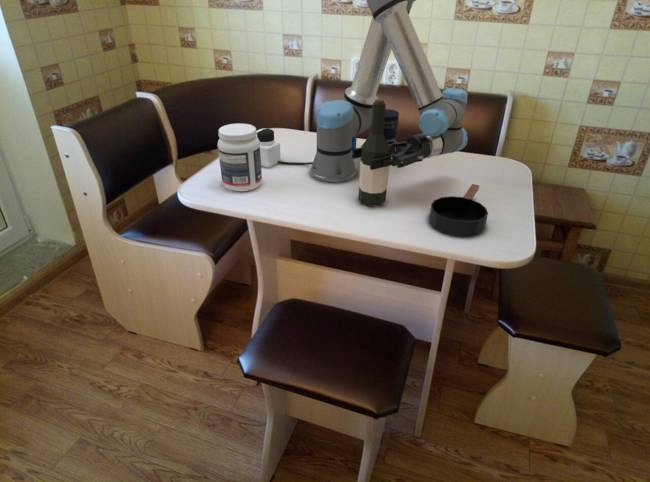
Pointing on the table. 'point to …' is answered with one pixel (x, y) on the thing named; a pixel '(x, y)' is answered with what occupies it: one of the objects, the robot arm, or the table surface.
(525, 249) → the table surface
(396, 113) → the storage jar
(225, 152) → the supplement tub
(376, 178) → the wine bottle
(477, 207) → the frying pan
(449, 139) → the robot arm
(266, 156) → the medicine bottle
